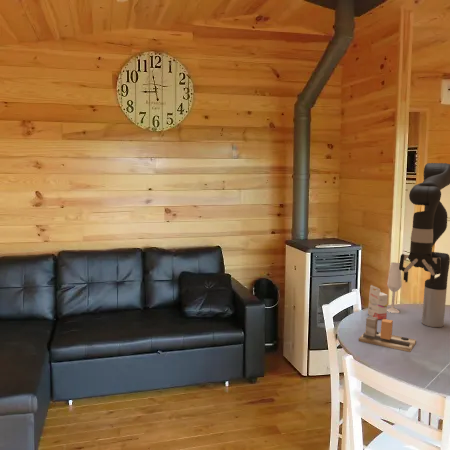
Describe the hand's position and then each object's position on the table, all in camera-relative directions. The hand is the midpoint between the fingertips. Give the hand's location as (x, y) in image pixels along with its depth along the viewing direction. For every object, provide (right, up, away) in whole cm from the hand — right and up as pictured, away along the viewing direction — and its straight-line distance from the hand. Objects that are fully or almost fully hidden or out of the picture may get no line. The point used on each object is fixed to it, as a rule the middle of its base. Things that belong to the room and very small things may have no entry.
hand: (418, 283), depth 181 cm
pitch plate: (-6, -26, +18) cm, 32 cm away
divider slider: (-6, -24, +17) cm, 30 cm away
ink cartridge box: (0, -22, +50) cm, 55 cm away
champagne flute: (+11, -21, +60) cm, 64 cm away
